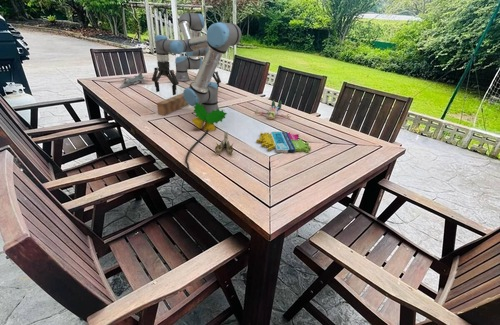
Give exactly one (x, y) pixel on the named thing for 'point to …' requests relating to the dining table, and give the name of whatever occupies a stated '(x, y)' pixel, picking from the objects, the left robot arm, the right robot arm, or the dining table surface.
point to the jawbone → (224, 145)
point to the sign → (283, 142)
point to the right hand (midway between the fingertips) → (166, 93)
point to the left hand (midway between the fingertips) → (210, 89)
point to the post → (171, 104)
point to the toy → (273, 111)
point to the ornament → (207, 117)
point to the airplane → (133, 80)
